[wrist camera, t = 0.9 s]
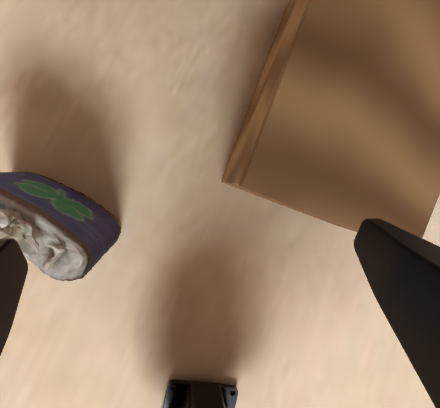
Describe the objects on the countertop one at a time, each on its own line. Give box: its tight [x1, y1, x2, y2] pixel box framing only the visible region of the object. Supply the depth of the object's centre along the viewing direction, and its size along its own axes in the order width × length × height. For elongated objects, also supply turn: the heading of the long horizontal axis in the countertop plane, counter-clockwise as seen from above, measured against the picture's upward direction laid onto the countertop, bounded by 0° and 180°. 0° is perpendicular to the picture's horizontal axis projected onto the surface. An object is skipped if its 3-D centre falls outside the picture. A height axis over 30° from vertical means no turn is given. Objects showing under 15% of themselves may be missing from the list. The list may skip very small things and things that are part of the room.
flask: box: [0, 172, 121, 281], centre depth 18 cm, size 9×3×11 cm, turn 57°
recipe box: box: [222, 0, 440, 238], centre depth 22 cm, size 16×12×9 cm
